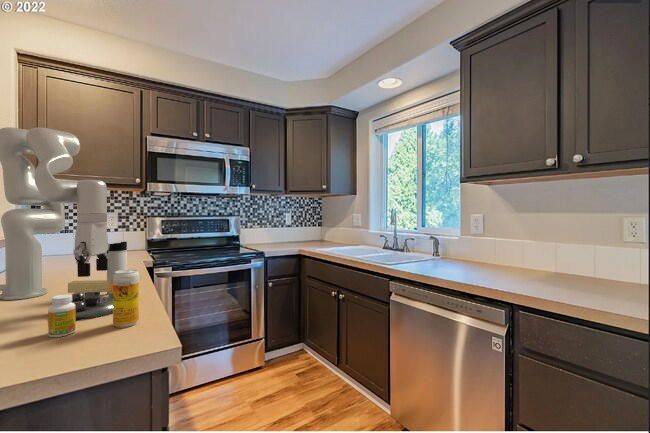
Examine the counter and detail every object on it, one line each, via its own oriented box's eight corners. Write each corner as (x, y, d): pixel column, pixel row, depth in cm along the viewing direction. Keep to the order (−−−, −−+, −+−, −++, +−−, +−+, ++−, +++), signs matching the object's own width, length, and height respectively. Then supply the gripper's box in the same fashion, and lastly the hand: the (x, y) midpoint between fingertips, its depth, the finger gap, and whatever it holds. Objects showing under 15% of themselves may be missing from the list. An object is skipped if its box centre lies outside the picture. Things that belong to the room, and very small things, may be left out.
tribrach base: (38, 321, 88) (38, 305, 88) (78, 302, 106) (78, 289, 106) (108, 318, 91) (108, 303, 91) (135, 300, 109) (135, 288, 109)
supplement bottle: (52, 339, 76) (52, 300, 76) (44, 334, 79) (44, 297, 79) (79, 332, 81) (79, 295, 81) (70, 328, 84) (70, 292, 84)
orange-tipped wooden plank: (67, 305, 95) (66, 283, 95) (75, 301, 99) (75, 280, 99) (114, 304, 97) (114, 282, 97) (120, 300, 101) (120, 279, 101)
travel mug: (117, 297, 112) (117, 242, 112) (102, 296, 114) (102, 241, 113) (131, 293, 118) (131, 240, 118) (117, 291, 120) (117, 240, 119)
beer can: (111, 329, 83) (111, 274, 83) (114, 322, 88) (114, 270, 88) (137, 326, 86) (138, 272, 85) (139, 319, 91) (139, 268, 91)
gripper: (95, 218, 106) (96, 268, 106) (60, 220, 88) (61, 279, 89) (119, 218, 107) (120, 268, 107) (89, 219, 90) (90, 278, 90)
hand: (93, 273), depth 98 cm, fingers open, 9 cm apart
